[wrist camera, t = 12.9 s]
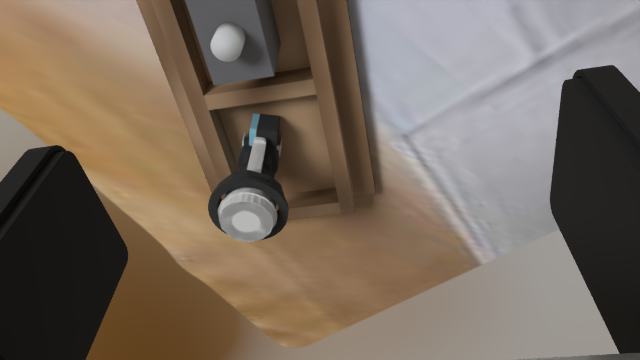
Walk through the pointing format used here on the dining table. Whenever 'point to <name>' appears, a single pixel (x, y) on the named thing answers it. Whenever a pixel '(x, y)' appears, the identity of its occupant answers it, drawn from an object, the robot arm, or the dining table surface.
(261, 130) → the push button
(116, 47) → the dining table surface
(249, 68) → the plug block
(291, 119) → the brown wooden divided tray
